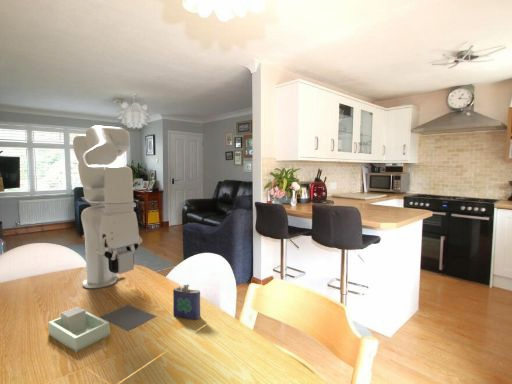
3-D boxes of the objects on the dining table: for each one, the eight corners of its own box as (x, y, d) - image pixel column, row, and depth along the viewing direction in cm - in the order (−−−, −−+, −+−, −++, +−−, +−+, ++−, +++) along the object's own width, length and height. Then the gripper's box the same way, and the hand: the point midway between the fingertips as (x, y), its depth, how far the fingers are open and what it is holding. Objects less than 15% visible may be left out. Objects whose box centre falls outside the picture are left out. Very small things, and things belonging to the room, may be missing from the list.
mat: (127, 305, 100) (127, 304, 100) (156, 317, 92) (156, 316, 92) (99, 317, 92) (99, 316, 92) (128, 332, 84) (128, 331, 84)
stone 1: (78, 324, 87) (77, 306, 86) (86, 328, 84) (85, 310, 84) (61, 331, 83) (60, 312, 82) (69, 336, 80) (68, 317, 80)
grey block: (124, 266, 90) (123, 249, 89) (133, 269, 87) (133, 251, 87) (110, 271, 86) (109, 252, 85) (120, 274, 83) (119, 255, 83)
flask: (201, 317, 92) (201, 284, 92) (197, 322, 90) (196, 288, 89) (176, 313, 95) (175, 281, 94) (171, 317, 92) (170, 285, 91)
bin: (82, 321, 90) (81, 308, 89) (109, 336, 82) (109, 322, 82) (49, 335, 82) (48, 322, 82) (76, 353, 74) (75, 338, 74)
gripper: (135, 204, 94) (137, 259, 96) (82, 211, 79) (86, 276, 81) (151, 206, 90) (153, 263, 92) (99, 213, 76) (102, 281, 77)
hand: (121, 268), depth 86 cm, fingers closed on grey block, 4 cm apart
